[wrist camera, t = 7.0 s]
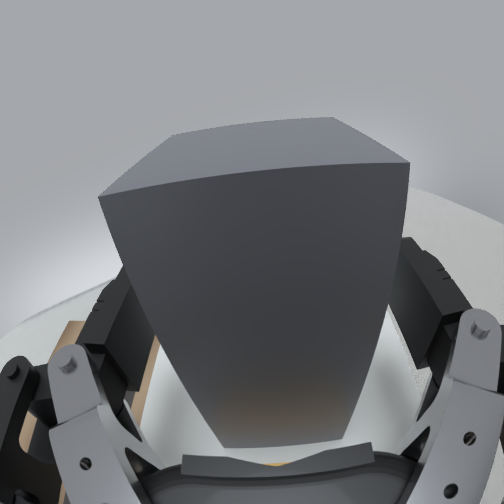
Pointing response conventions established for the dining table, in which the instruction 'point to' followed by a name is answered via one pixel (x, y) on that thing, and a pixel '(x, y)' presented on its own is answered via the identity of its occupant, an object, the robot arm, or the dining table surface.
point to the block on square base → (268, 289)
